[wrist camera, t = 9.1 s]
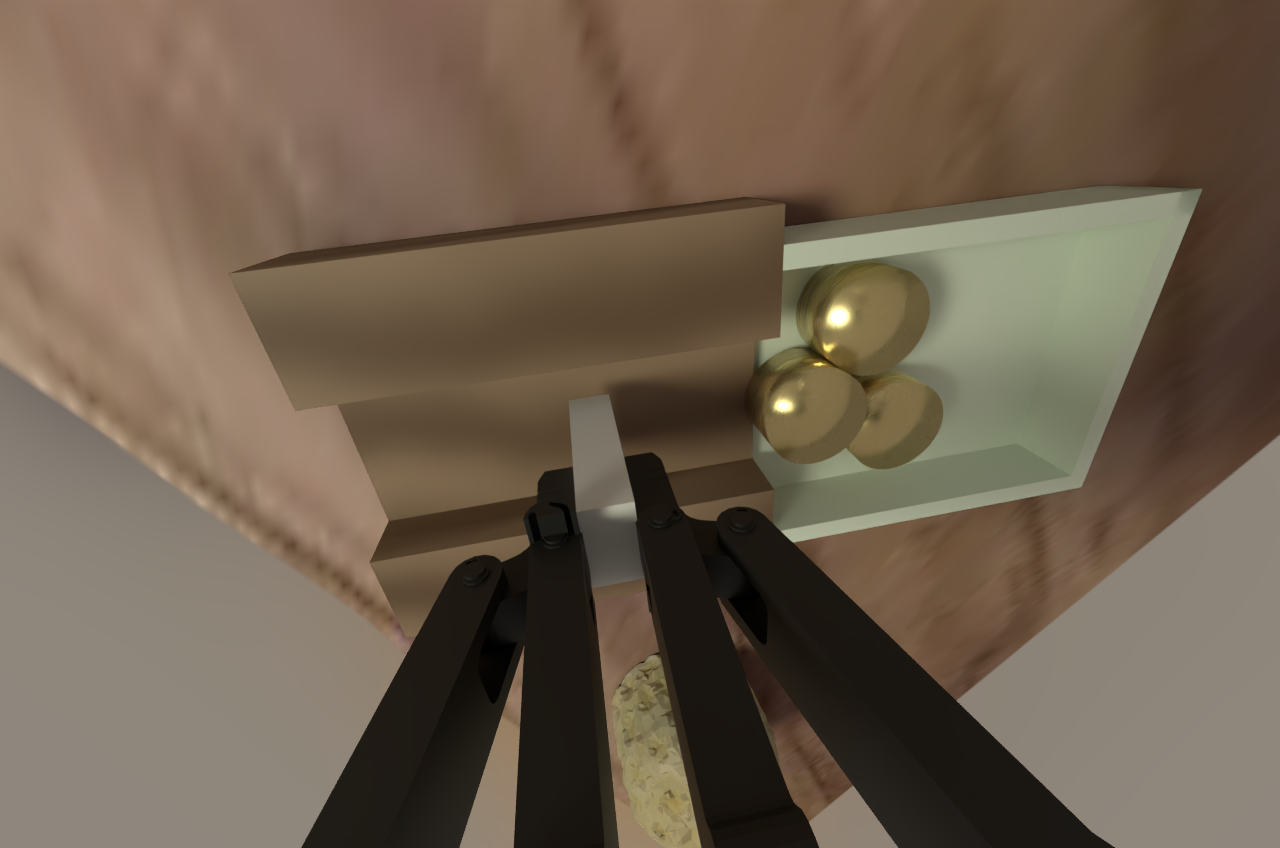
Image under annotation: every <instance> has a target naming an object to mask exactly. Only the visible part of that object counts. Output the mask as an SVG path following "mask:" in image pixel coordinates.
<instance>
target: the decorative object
mask: <svg viewBox="0 0 1280 848" xmlns="http://www.w3.org/2000/svg"><path fill="white" fill-rule="evenodd" d="M747 681H748V680H747ZM748 684H749V682H748ZM749 686H750V685H749ZM750 689H751V692H752V694H753V697H754V700H755V703H756V705H757V708H758V711H759V713H760V716H761V719H762V721H763V724H764V727H765V729H766V732H767V735H768V738H769V740H770V743H771V746H772V748H773V751H774V754H775V756H776V759H777V762H778V765H779V758H778V754H777V748H776V744H775V736H774V733H773V731H772V730H771V728H770V725H769V724H768V722H767V717H766V715H765V713H764V711H763V710H762V709H761V707H760V705H759V702H758V700H757V698H756V696H755V694H754V690H753V689H752V688H751V686H750ZM612 704H613V707H612V708H613V709H614V711H613V720H614V723H613V726H614V733H615V737H616V743H617V751H618V755H619V758H620V760H621V764H622V767H623V774H622V775H623V783H624V785H625V787H626V789H627V791H628V796H629V798H630V800H631V803H630V806H631V808H632V813H633V816H634V818H635V819H636V820H637V822H638V823H639V824H640V825H641V826H642V827H643V828H644V829H645V830H646V832H647V833H648V834H649V836H651V837H652V838H653V839H655V841H657V842H658V843H659V844H660V845H661V846H663V847H665V848H701V844H700V839H699V834H698V830H697V825H696V820H695V816H694V811H693V806H692V802H691V797H690V792H689V788H688V783H687V778H686V774H685V769H684V764H683V760H682V755H681V750H680V746H679V741H678V736H677V732H676V727H675V722H674V718H673V713H672V708H671V704H670V699H669V694H668V690H667V685H666V680H665V676H664V671H663V666H662V662H661V657H660V654H656V655H651V656H649V657H648V658H647V660H646V661H645V662H644V663H640V664H638V665H637V666H636V667H634V668H633V669H632V670H631V671H630V672H629V673H628V674H627V675H626V677H625V678H624V680H623V682H622V684H621V686H620V687H618V688H616V694H615V695H614V696H613V699H612Z"/></svg>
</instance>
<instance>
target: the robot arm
mask: <svg viewBox="0 0 1280 848" xmlns="http://www.w3.org/2000/svg"><path fill="white" fill-rule="evenodd" d="M569 415H570V429H571V444H572V459H573V467H568V468H562V469H556V470H550V471H545V472H544V473H543V475H542V476H541V478H540V479H539V481H538V488H537V493H538V494H537V504H535V505H533V506H532V507H531V508H530V509H529V510H528V511H527V512H526V513H525V516H524V518H523V521H524V525H525V528H526V532H527V535H528V539H529V542H530V546H529V547H528V548H527V549H526V550H524V551H523V552H522V553H520V554H518V555H516V556H515V557H513V558H510V559H508V560H506V561H503V562H501V561H500V560H499V559H498V558H496V557H495V556H491V555H479V556H474V557H472V558H469V559H467V560H465V561H463V562H462V563H461V564H459V565H458V566H457V567H456V568H455V569H454V570H453V571H452V573H451V574H450V576H449V577H448V579H447V581H446V583H445V585H444V587H443V589H442V590H441V592H440V594H439V596H438V598H437V600H436V601H435V603H434V605H433V607H432V609H431V611H430V612H429V614H428V616H427V618H426V620H425V622H424V623H423V625H422V627H421V629H420V631H419V633H418V634H417V636H416V638H415V640H414V642H413V644H412V645H411V647H410V649H409V651H408V653H407V655H406V656H405V658H404V660H403V662H402V664H401V666H400V668H399V669H398V671H397V673H396V675H395V677H394V679H393V680H392V682H391V684H390V686H389V688H388V690H387V692H386V693H385V695H384V697H383V699H382V701H381V702H380V704H379V706H378V708H377V710H376V712H375V713H374V715H373V717H372V719H371V721H370V723H369V724H368V726H367V728H366V730H365V732H364V734H363V735H362V737H361V739H360V741H359V743H358V745H357V747H356V748H355V750H354V752H353V754H352V756H351V757H350V759H349V761H348V763H347V765H346V767H345V769H344V770H343V772H342V774H341V776H340V778H339V780H338V781H337V784H336V785H335V787H334V789H333V791H332V792H331V794H330V796H329V798H328V800H327V802H326V804H325V805H324V807H323V809H322V811H321V813H320V814H319V816H318V818H317V820H316V822H315V824H314V825H313V828H312V829H311V831H310V833H309V835H308V837H307V838H306V840H305V842H304V844H303V846H302V848H459V847H460V843H461V840H462V837H463V834H464V831H465V828H466V825H467V822H468V818H469V815H470V812H471V809H472V806H473V803H474V800H475V797H476V794H477V791H478V787H479V784H480V781H481V778H482V775H483V772H484V769H485V766H486V762H487V759H488V756H489V753H490V750H491V746H492V744H493V741H494V738H495V734H496V731H497V728H498V725H499V722H500V719H501V716H502V713H503V709H504V706H505V703H506V700H507V697H508V694H509V691H510V688H511V685H512V681H513V678H514V675H515V672H516V669H517V666H518V663H519V660H520V656H521V653H522V650H523V647H524V664H523V683H522V702H521V721H520V740H519V741H520V742H519V759H518V777H517V797H516V815H515V834H514V848H619V842H618V832H617V822H616V812H615V803H614V792H613V782H612V772H611V762H610V752H609V742H608V731H607V721H606V711H605V701H604V691H603V681H602V671H601V661H600V651H599V641H598V631H597V621H596V611H595V602H594V598H593V593H592V588H597V587H603V586H608V585H613V584H618V583H623V582H628V581H633V580H639V579H644V578H645V583H646V591H647V598H648V605H649V612H651V615H652V620H653V624H654V629H655V634H656V638H657V643H658V648H659V652H660V657H661V662H662V666H663V671H664V676H665V680H666V685H667V690H668V694H669V699H670V704H671V708H672V713H673V718H674V722H675V727H676V732H677V736H678V741H679V746H680V750H681V755H682V760H683V764H684V769H685V774H686V778H687V783H688V788H689V792H690V797H691V802H692V806H693V811H694V816H695V820H696V825H697V830H698V834H699V839H700V844H701V848H819V846H818V843H817V841H816V838H815V836H814V833H813V831H812V829H811V826H810V824H809V822H808V820H807V818H806V816H805V814H804V813H803V811H802V809H800V808H799V807H798V806H797V805H796V804H795V803H794V802H793V800H792V798H791V796H790V794H789V791H788V789H787V786H786V783H785V781H784V778H783V775H782V773H781V770H780V767H779V765H778V762H777V759H776V756H775V754H774V751H773V748H772V746H771V743H770V740H769V738H768V735H767V732H766V729H765V727H764V724H763V721H762V719H761V716H760V713H759V711H758V708H757V705H756V703H755V700H754V697H753V694H752V692H751V689H750V686H749V684H748V681H747V678H746V676H745V673H744V670H743V667H742V665H741V662H740V659H739V657H738V654H737V651H736V649H735V646H734V643H733V640H732V638H731V635H730V632H729V630H728V627H727V624H726V622H725V619H724V616H723V613H722V611H721V608H720V605H719V603H718V600H717V598H720V600H721V603H722V604H723V606H724V607H725V608H726V610H727V611H728V612H729V614H730V615H731V617H732V618H733V619H734V621H735V622H736V624H737V625H738V626H739V628H740V629H741V630H742V632H743V633H744V635H745V636H746V637H747V639H748V640H749V642H750V643H751V644H752V646H753V647H754V648H755V650H756V651H757V653H758V654H759V655H760V657H761V658H762V660H763V661H764V662H765V664H766V665H767V666H768V668H769V669H770V671H771V672H772V673H773V675H774V676H775V678H776V679H777V680H778V682H779V683H780V684H781V686H782V687H783V689H784V690H785V691H786V693H787V694H788V696H789V697H790V698H791V700H792V701H793V702H794V704H795V705H796V707H797V708H798V709H799V711H800V712H801V714H802V715H803V716H804V718H805V719H806V720H807V722H808V723H809V725H810V726H811V727H812V729H813V730H814V732H815V733H816V734H817V736H818V737H819V738H820V740H821V741H822V743H823V744H824V745H825V747H826V748H827V750H828V751H829V752H830V754H831V755H832V756H833V758H834V759H835V761H836V762H837V763H838V765H839V766H840V768H841V769H842V770H843V772H844V773H845V774H846V776H847V777H848V779H849V780H850V781H851V783H852V784H853V786H854V787H855V788H856V790H857V791H858V792H859V794H860V795H861V797H862V798H863V799H864V801H865V802H866V804H867V805H868V806H869V808H870V809H871V810H872V812H873V813H874V815H875V816H876V817H877V819H878V820H879V821H880V823H881V824H882V826H883V827H884V828H885V830H886V831H887V833H888V834H889V835H890V837H891V838H892V839H893V841H894V842H895V844H896V845H897V846H898V848H1115V847H1113V846H1112V845H1110V844H1109V843H1107V842H1106V841H1104V840H1103V839H1101V838H1100V837H1098V836H1096V835H1095V834H1094V833H1092V832H1091V831H1090V830H1089V829H1088V828H1087V827H1086V826H1085V825H1084V824H1083V823H1082V822H1081V821H1080V820H1079V819H1078V818H1077V817H1076V816H1075V815H1074V814H1073V813H1072V812H1071V811H1069V810H1068V809H1067V808H1066V807H1065V806H1064V805H1063V804H1062V803H1061V802H1060V801H1059V800H1058V799H1057V798H1056V797H1055V796H1054V795H1053V794H1052V793H1051V792H1050V791H1049V790H1048V789H1046V787H1045V786H1044V785H1043V784H1042V783H1040V782H1039V780H1038V779H1036V778H1035V777H1034V776H1033V775H1032V774H1031V773H1030V772H1029V771H1028V770H1027V769H1026V768H1025V767H1024V766H1023V765H1022V764H1021V763H1020V762H1019V761H1018V760H1017V759H1016V758H1015V757H1014V756H1013V755H1012V754H1011V753H1010V752H1009V751H1007V749H1005V748H1004V747H1003V746H1002V745H1001V744H1000V743H999V742H998V741H997V740H996V739H995V738H994V737H993V736H992V735H991V734H990V733H989V732H988V731H987V730H986V729H985V728H984V727H983V726H981V724H980V723H979V722H978V721H977V720H976V719H974V718H973V717H972V716H971V715H970V714H969V713H968V712H967V711H966V710H965V709H964V708H963V707H962V706H961V705H960V704H959V703H958V702H957V701H956V700H955V699H954V698H953V697H952V696H951V695H950V694H949V693H948V692H947V691H946V690H945V689H943V688H942V687H941V686H940V685H939V684H938V683H937V682H936V681H935V680H934V679H933V678H932V677H931V676H930V675H929V674H928V673H927V672H926V671H925V670H924V669H923V668H922V667H921V666H920V665H919V664H918V663H917V662H916V661H915V660H914V659H912V658H911V657H910V656H909V655H908V654H907V653H906V652H905V651H904V650H903V649H902V648H901V647H900V646H899V645H898V644H897V643H896V642H895V641H894V640H893V639H892V638H891V637H890V636H889V635H888V634H887V633H886V632H885V631H884V630H883V629H881V628H880V627H879V626H878V625H877V624H876V623H875V622H874V621H873V620H872V619H871V618H870V617H869V616H868V615H867V614H866V613H865V612H864V611H863V610H862V609H861V608H860V607H859V606H858V605H857V604H856V603H855V602H854V601H853V600H852V599H850V598H849V597H848V596H847V595H846V594H845V593H844V592H843V591H842V590H841V589H840V588H839V587H838V586H837V585H836V584H835V583H834V582H833V581H832V580H831V579H830V578H829V577H828V576H827V575H826V574H825V573H824V572H823V571H822V570H821V569H819V568H818V567H817V566H816V565H815V564H814V563H813V562H812V561H811V560H810V559H809V558H808V557H807V556H806V555H805V554H804V553H803V552H802V551H801V550H800V549H799V548H798V547H797V546H796V545H795V544H794V543H793V542H792V541H791V540H790V539H788V538H787V537H786V536H785V535H784V534H783V533H782V532H781V531H780V530H779V529H778V528H777V527H776V526H775V525H774V524H773V523H772V522H771V521H770V520H769V519H768V518H767V517H766V516H765V515H764V514H762V513H761V512H759V511H758V510H756V509H753V508H749V507H738V506H737V507H733V508H728V509H727V510H725V511H723V512H721V513H720V515H719V516H718V517H717V521H709V520H699V519H695V518H692V517H689V516H688V515H686V514H685V513H684V511H683V510H682V509H681V508H679V506H678V504H677V501H676V498H675V495H674V493H673V490H672V487H671V484H670V482H669V479H668V476H667V473H666V471H665V468H664V465H663V462H662V460H661V459H660V458H659V457H658V456H657V455H655V454H654V453H653V452H649V453H643V454H637V455H631V456H626V457H624V456H623V451H622V447H621V443H620V439H619V435H618V431H617V426H616V422H615V418H614V414H613V410H612V406H611V401H610V397H609V394H607V395H600V396H594V397H588V398H581V399H575V400H569ZM524 644H525V646H524Z"/></svg>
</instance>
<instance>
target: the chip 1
mask: <svg viewBox="0 0 1280 848" xmlns="http://www.w3.org/2000/svg"><path fill="white" fill-rule="evenodd" d="M929 314H930V299H929V295H928V291H927V289H926V287H925V285H924V283H923V282H922V281H921V280H920V278H919V277H917V276H916V275H915V274H914V273H912V272H910V271H908V270H905V269H902V268H898V267H895V266H891V265H888V264H885V263H881V262H878V261H875V260H871V259H864V260H857V261H850V262H843V263H836V264H828V265H825V266H823V267H822V268H821V269H819V270H818V271H817V272H816V273H815V274H814V275H813V276H812V277H811V278H810V280H809V281H808V282H807V284H806V285H805V287H804V289H803V290H802V292H801V295H800V297H799V300H798V304H797V309H796V324H797V329H798V332H799V334H800V336H801V338H802V339H803V341H804V342H805V343H806V344H807V345H808V346H809V347H810V348H812V349H813V350H815V351H816V352H817V353H819V354H820V355H822V356H823V357H825V358H826V359H827V360H829V361H830V362H832V363H833V364H834V365H836V366H837V367H839V368H840V369H842V370H843V371H845V372H847V373H850V374H853V375H860V376H868V375H874V374H878V373H881V372H884V371H886V370H888V369H890V368H892V367H894V366H895V365H897V364H898V363H900V362H901V361H902V360H903V359H904V358H906V357H907V356H908V355H909V354H910V353H911V352H912V350H913V349H914V348H915V347H916V345H917V344H918V342H919V341H920V339H921V337H922V335H923V334H924V331H925V329H926V326H927V323H928V320H929Z"/></svg>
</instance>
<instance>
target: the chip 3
mask: <svg viewBox="0 0 1280 848" xmlns="http://www.w3.org/2000/svg"><path fill="white" fill-rule="evenodd" d="M846 373H847V372H846ZM848 374H849V375H851V376H852V377H854V378H855V379H856V380H857V381H858V382H859V383H860V384H861V386H862V387H863V389H864V391H865V394H866V398H867V412H866V417H865V420H864V423H863V425H862V428H861V429H860V431H859V433H858V434H857V436H856V437H855V439H854V440H853V441H852V442H851V443H850V444H849V445H848V446H847V447H846V449H847V450H848V451H849V452H850V453H851V454H852V455H853V456H854V457H855V458H856V459H857V460H859V461H860V462H861V463H862V464H863V465H865V466H867V467H869V468H873V469H891V468H895V467H898V466H901V465H904V464H906V463H908V462H910V461H911V460H913V459H915V458H916V457H917V456H919V455H920V454H921V453H922V452H924V451H925V450H926V449H927V448H928V446H929V445H930V444H931V443H932V441H933V440H934V439H935V437H936V435H937V434H938V432H939V429H940V427H941V424H942V420H943V404H942V401H941V399H940V397H939V395H938V394H937V393H936V392H935V391H934V390H933V389H932V388H930V387H928V386H926V385H925V384H923V383H921V382H920V381H918V380H916V379H915V378H913V377H911V376H909V375H908V374H906V373H904V372H903V371H901V370H899V369H898V368H896V367H892V368H890V369H888V370H886V371H884V372H881V373H878V374H874V375H868V376H860V375H853V374H850V373H848Z"/></svg>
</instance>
